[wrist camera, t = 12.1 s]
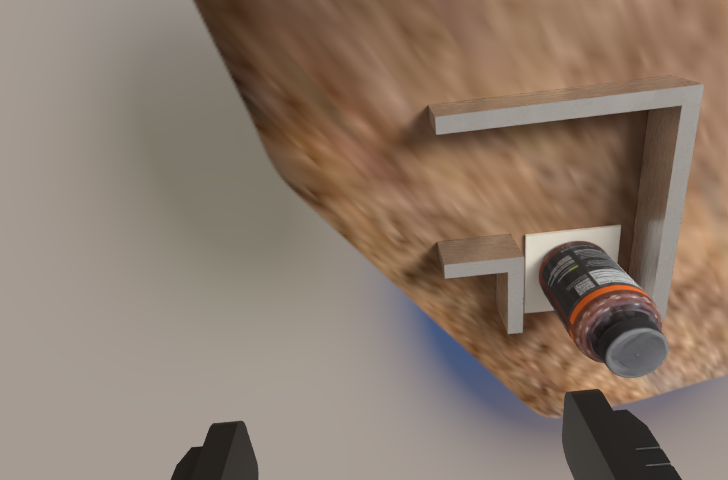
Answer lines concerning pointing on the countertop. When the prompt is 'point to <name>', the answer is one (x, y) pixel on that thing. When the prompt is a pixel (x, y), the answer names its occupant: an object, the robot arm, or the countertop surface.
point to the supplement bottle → (603, 309)
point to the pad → (547, 242)
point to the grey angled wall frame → (656, 189)
